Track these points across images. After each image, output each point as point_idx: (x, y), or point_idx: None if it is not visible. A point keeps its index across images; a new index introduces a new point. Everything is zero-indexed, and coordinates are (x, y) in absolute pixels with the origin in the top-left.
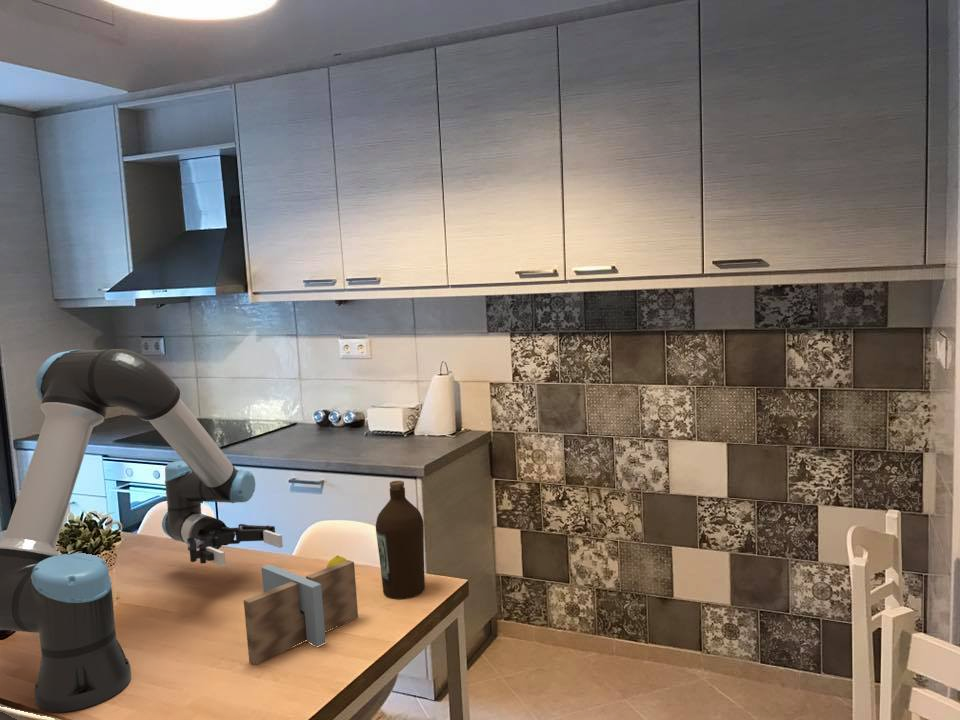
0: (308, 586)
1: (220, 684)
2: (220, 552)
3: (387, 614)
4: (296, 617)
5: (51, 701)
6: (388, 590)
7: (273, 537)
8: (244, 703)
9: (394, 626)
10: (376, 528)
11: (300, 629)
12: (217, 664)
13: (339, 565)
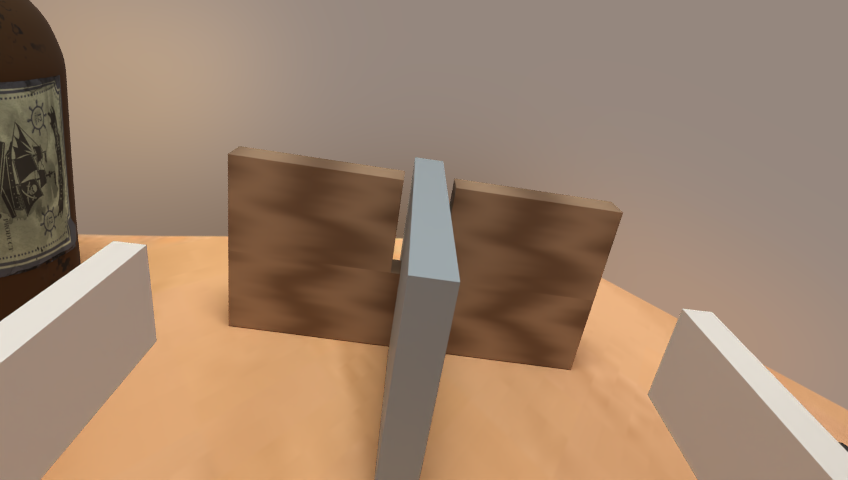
0: (443, 167)
1: (652, 356)
2: (720, 326)
3: (195, 276)
4: None
5: None
6: None
7: (91, 328)
8: (617, 298)
9: None
10: (2, 70)
11: None
12: (650, 419)
13: (283, 157)
